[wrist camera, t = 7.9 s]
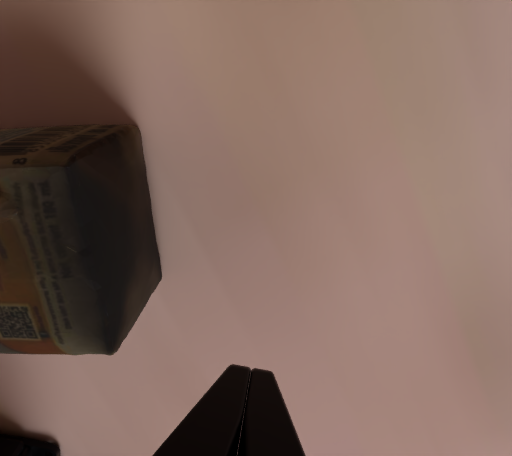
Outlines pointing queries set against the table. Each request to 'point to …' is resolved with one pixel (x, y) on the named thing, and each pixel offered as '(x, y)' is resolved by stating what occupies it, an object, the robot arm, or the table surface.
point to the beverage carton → (73, 238)
